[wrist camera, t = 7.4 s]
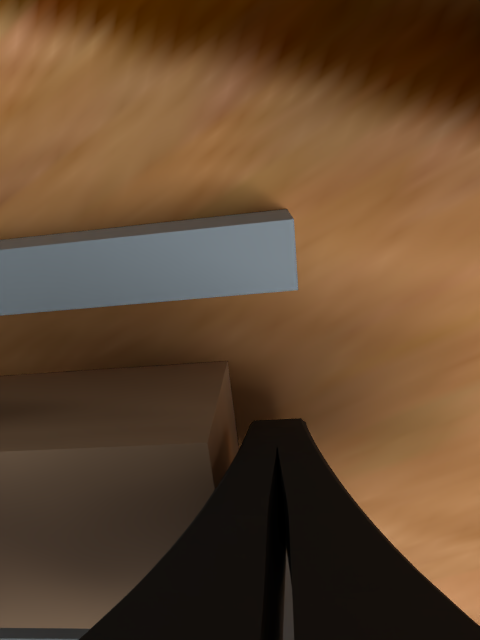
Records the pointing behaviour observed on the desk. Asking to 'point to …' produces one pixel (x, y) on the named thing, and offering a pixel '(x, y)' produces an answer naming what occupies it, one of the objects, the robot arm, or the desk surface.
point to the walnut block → (102, 481)
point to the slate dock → (148, 287)
